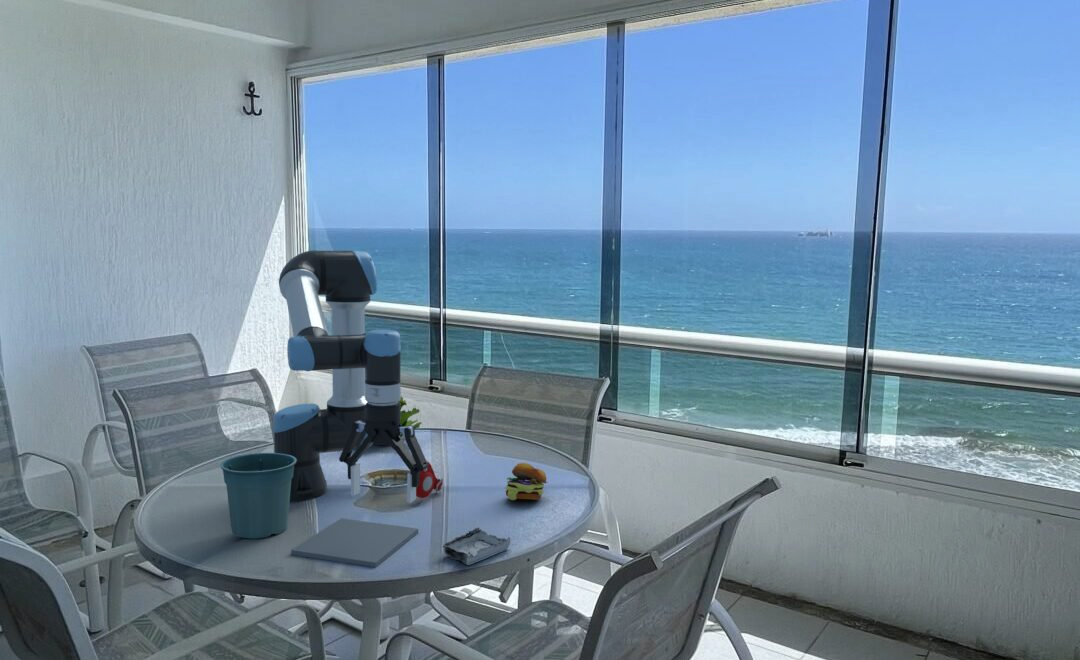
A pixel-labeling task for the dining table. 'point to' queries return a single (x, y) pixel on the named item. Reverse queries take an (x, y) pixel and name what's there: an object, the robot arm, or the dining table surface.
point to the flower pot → (258, 493)
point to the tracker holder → (428, 482)
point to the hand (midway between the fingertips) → (383, 497)
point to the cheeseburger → (526, 482)
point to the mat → (356, 542)
